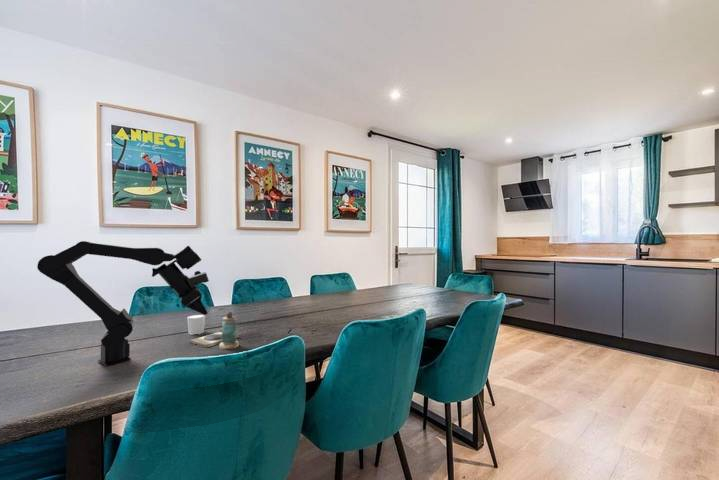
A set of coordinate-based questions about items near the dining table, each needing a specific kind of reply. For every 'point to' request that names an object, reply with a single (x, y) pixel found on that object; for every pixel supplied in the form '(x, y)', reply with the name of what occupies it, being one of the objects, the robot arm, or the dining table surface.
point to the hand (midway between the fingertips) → (205, 311)
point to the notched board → (210, 339)
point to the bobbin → (229, 332)
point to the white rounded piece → (196, 324)
